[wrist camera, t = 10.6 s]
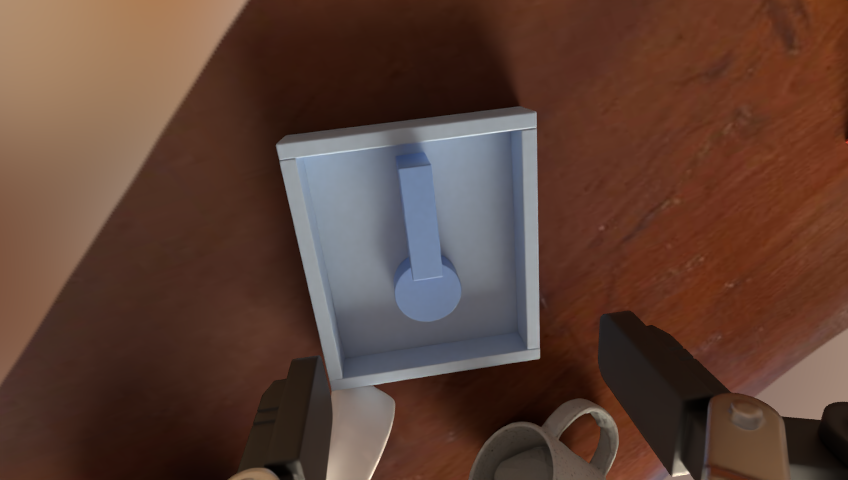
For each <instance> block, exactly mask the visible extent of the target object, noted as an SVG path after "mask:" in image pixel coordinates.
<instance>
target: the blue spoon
mask: <svg viewBox="0 0 848 480" xmlns="http://www.w3.org/2000/svg"><path fill="white" fill-rule="evenodd" d="M395 159H396V166H397V174H398V181H399V189H400V196H401V203H402V211H403V218H404V226H405V233H406V241H407V248H408V255H409V257H408V258H406V259H405V260H404V261H403V262H402V263H401V264H400V265H399V266H398V268H397V270H396V272H395V275H394V294H395V300H396V303H397V305H398V307H399V309H400V310H401V311H402V312H403V313H404V314H405V315H407V316H408V317H410V318H412V319H414V320H418V321H425V322H428V321H435V320H438V319H441V318H443V317H445V316H447V315H448V314H449V313H451V312H452V311H453V310H454V308H455V307H456V306H457V304H458V302H459V300H460V297H461V283H460V280H459V277H458V275H457V272H456V269H455V267H454V266H453V264H452V263H451V262H450V261H449V260H448V259H447V258H446V257H444V256H443V255H441V250H440V241H439V231H438V221H437V212H436V202H435V193H434V183H433V174H432V165H431V163H430V161H429V160H428V158H427V156H426V154H425V153H424V152H423V153H415V154H408V155H400V156H396V157H395Z"/></svg>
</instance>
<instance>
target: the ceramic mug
mask: <svg viewBox="0 0 848 480" xmlns="http://www.w3.org/2000/svg"><path fill="white" fill-rule="evenodd" d="M585 413H591V415H592V416H593V417H594V418H595V420H596V423H597V425H598V426H600V427H601V432H600V440H599V443H598V447H597V449H596V452H595V454H594V456H593V457H592V459H591V461H590V463H589V464H588V463H587V462H586V461H585V460H583V459H582V458H581V457H580V456H577V455H576V454H575V453H573V452H572V451H571V450H570V449H569V448H568V447H567V446H565V445H564V444H563V443H562V442H560V441H559V438H560V436H561V434H562V432H563V431H564V430H565V429H566V428H567V427H568V426H569V425H570V424H571V423H572V422H573V421H574V420H575V419H577V418H578V417H579V416H581V415H583V414H585ZM618 444H619V440H618V430H617V426H616V424H615V421H614V420H613V418H612V417H611V415H610V414H609V413H608V412H607V411H606V410H605V409H604V408H602V407H600V406H599V405H597V404H595V403H593V402H591V401H589V400H586V399H581V398H579V399H573V400H569V401H567V402H566V403H563V404H562V405H560V406H559V407H558V408H557V409H556V410H555V411H554V412H553V413H552V414H551V415H550V417H549V418H548V419H547V420H546V421H545V423H544V424H543V425H542V427H540V426H538V425H536V424H534V423H530V422H515V423H511V424H509V425H507V426H504V427H502V428H501V429H499V430H498V431H497V432H495V433H494V434H493V435H492V436H491V437H490V438H489V439H488V440H487V441H486V442H485V443H484V445H483V446H482V448H481V449H480V451H479V453H478V454H477V456H476V459H475V461H474V463H473V466H472V468H471V472H470V475H469V480H606V477H605V476H606V474H607V473H608V471H609V469H610V467H611V465H612V463H613V461H614V459H615V456H616V452H617V449H618Z"/></svg>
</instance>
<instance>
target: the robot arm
mask: <svg viewBox="0 0 848 480" xmlns="http://www.w3.org/2000/svg"><path fill="white" fill-rule="evenodd" d="M598 363H599V369H600V372H601V375H602V377H603V379H604V381H605V382H606V384H607V385H608V387H609V388H610V390H611V391H612V392H613V394H614V395H615V397H616V398H617V400H618V401H619V402H620V404H621V405H622V407H623V408H624V410H625V411H626V412H627V414H628V415H629V417H630V418H631V420H632V421H633V422H634V424H635V425H636V427H637V428H638V430H639V431H640V432H641V434H642V435H643V437H644V438H645V439H646V441H647V442H648V444H649V445H650V447H651V448H652V449H653V451H654V452H655V454H656V455H657V457H658V458H659V459H660V461H661V462H662V464H663V465H664V467H665V468H666V469H667V471H668V472H669V474H670V475H671V476H672V477H673V476H679V475H685V474H691V476H692V477H693V479H694V480H848V402H836V403H832V404H829V405H828V406H826V407H825V409H824V412H823V415H822V419H821V420H814V419H802V418H791V417H782V416H780V415H779V414H778V412H777V411H776V410H775V409H773V408H772V407H771V406H769V405H768V404H766V403H764V402H763V401H761V400H759V399H756V398H754V397H751V396H748V395H744V394H739V393H731V392H730V391H729V390H728V389H727V388H726V387H725V386H724V385H723V384H722V383H721V382H720V381H719V380H717V379H716V378H715V377H714V376H713V375H712V374H711V373H710V372H709V371H708V370H707V369H706V368H705V367H704V366H703V365H702V364H701V363H700V362H699V361H698V360H696V359H694V358H693V356H692V355H691V354H690V353H689V352H688V351H687V350H686V349H683V346H682V345H681V344H680V343H679V342H678V341H676V340H675V339H674V338H673V337H672V336H671V335H670V334H668V333H666V332H664V331H663V330H661V329H659V328H657V327H655V326H653V325H650V326H646V325H645V324H644V323H643V322H642V321H641V320H640V319H639V318H638V317H637V316H636V315H635V314H634V313H633V312H631V311H622V312H616V313H609V314H603V315H602V316H601V319H600V330H599V350H598ZM257 411H258V413H256V416H255V419H254V422H253V426H252V428H251V431H250V434H249V437H248V441H247V444H246V447H245V450H244V453H243V456H242V459H241V462H240V465H239V468H238V471H237V474H236V475H234V476H232V477H231V478H229V479H228V480H326V476H327V467H328V458H329V450H330V441H331V432H332V423H333V409H332V401H331V396H330V392H329V387H328V383H327V379H326V375H325V370H324V366H323V362H322V359H321V357H320V356H312V357H305V358H299V359H293V360H292V362H291V365H290V369H289V372H288V376H287V379H283V380H277V381H274V382H273V383H272V384H271V385H270V387H269V388H268V389H267V390H266V391H265V393H264V394H263V395H262V398H261V401H260V404H259V407H258V410H257Z"/></svg>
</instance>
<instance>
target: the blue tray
mask: <svg viewBox="0 0 848 480" xmlns="http://www.w3.org/2000/svg"><path fill="white" fill-rule="evenodd" d="M536 126H537V120H536V111H533V110H530V109H526V108H524V107H521V106H518V107H510V108H502V109H494V110H486V111H478V112H470V113H462V114H454V115H446V116H438V117H430V118H422V119H414V120H406V121H398V122H390V123H382V124H374V125H366V126H358V127H350V128H342V129H334V130H326V131H318V132H310V133H302V134H294V135H286V136H285V137H284V138H282V139H281V140H280V141H279V142H278V143H277V144H276V149H277V153H278V157H279V160H280V161H279V162H280V167H281V171H282V175H283V180H284V184H285V189H286V193H287V197H288V202H289V206H290V210H291V215H292V219H293V223H294V228H295V232H296V236H297V241H298V245H299V250H300V254H301V258H302V263H303V267H304V271H305V276H306V280H307V284H308V289H309V293H310V297H311V302H312V306H313V310H314V315H315V319H316V324H317V328H318V332H319V337H320V341H321V345H322V350H323V354H324V358H325V363H326V367H327V371H328V376H329V380H330V384H331V389H332V391H335V390H343V389H349V388H356V387H362V386H368V385H375V384H381V383H388V382H394V381H400V380H407V379H413V378H420V377H426V376H432V375H439V374H445V373H452V372H458V371H464V370H471V369H477V368H484V367H490V366H496V365H503V364H509V363H516V362H522V361H528V360H535V359H540V348H539V347H540V326H539V258H538V189H537V129H536V128H535V127H536ZM423 152H424V153H425V154H426V156H427V158H428V160H429V161H430V163H431V165H432V174H433V183H434V193H435V202H436V212H437V221H438V231H439V241H440V250H441V255H443V256H444V257H446V258H447V259H448V260H449V261H450V262H451V263H452V264H453V266H454V267H455V269H456V272H457V275H458V277H459V280H460V283H461V297H460V300H459V302H458V304H457V306H456V307H455V308H454V310H453V311H452V312H451V313H449V314H448V315H447V316H445V317H443V318H441V319H438V320H435V321H428V322H425V321H418V320H414V319H412V318H410V317H408V316H407V315H405V314H404V313H403V312H402V311H401V310H400V309H399V307H398V305H397V303H396V300H395V294H394V275H395V272H396V270H397V268H398V266H399V265H400V264H401V263H402V262H403V261H404V260H405V259H406V258H408V257H409V255H408V248H407V241H406V233H405V226H404V218H403V211H402V203H401V196H400V189H399V181H398V174H397V166H396V159H395V157H396V156H400V155H408V154H415V153H423Z"/></svg>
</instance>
